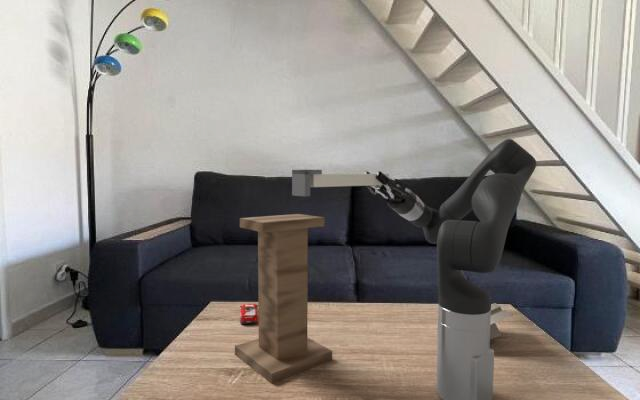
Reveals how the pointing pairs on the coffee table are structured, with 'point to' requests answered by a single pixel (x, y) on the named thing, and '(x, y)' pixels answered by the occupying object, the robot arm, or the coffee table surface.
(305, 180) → the white bar
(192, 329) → the coffee table surface
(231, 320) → the coffee table surface
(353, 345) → the coffee table surface
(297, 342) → the wooden pedestal post
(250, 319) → the race car
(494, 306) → the grey slanted stand
